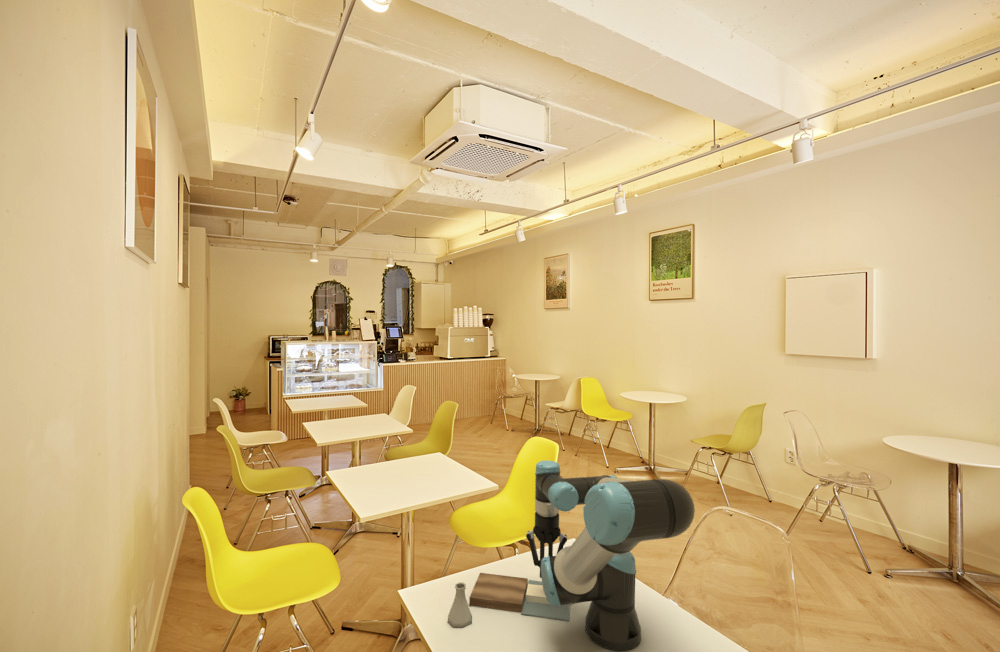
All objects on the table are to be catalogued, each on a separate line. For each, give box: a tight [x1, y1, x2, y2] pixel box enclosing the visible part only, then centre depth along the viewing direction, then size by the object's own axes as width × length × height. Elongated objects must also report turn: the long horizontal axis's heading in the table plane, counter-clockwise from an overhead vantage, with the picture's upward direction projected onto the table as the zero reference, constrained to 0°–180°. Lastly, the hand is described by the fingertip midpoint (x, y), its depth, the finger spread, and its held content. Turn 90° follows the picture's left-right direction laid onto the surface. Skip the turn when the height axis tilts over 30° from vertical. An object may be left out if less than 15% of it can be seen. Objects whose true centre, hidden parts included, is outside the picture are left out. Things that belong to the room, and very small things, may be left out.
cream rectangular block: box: [526, 584, 549, 604], centre depth 140 cm, size 6×9×2 cm, turn 80°
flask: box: [447, 582, 473, 628], centre depth 129 cm, size 7×7×10 cm
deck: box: [468, 572, 529, 614], centre depth 142 cm, size 14×16×2 cm
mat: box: [520, 579, 571, 622], centre depth 140 cm, size 18×14×1 cm
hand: (545, 588), depth 140 cm, fingers closed
